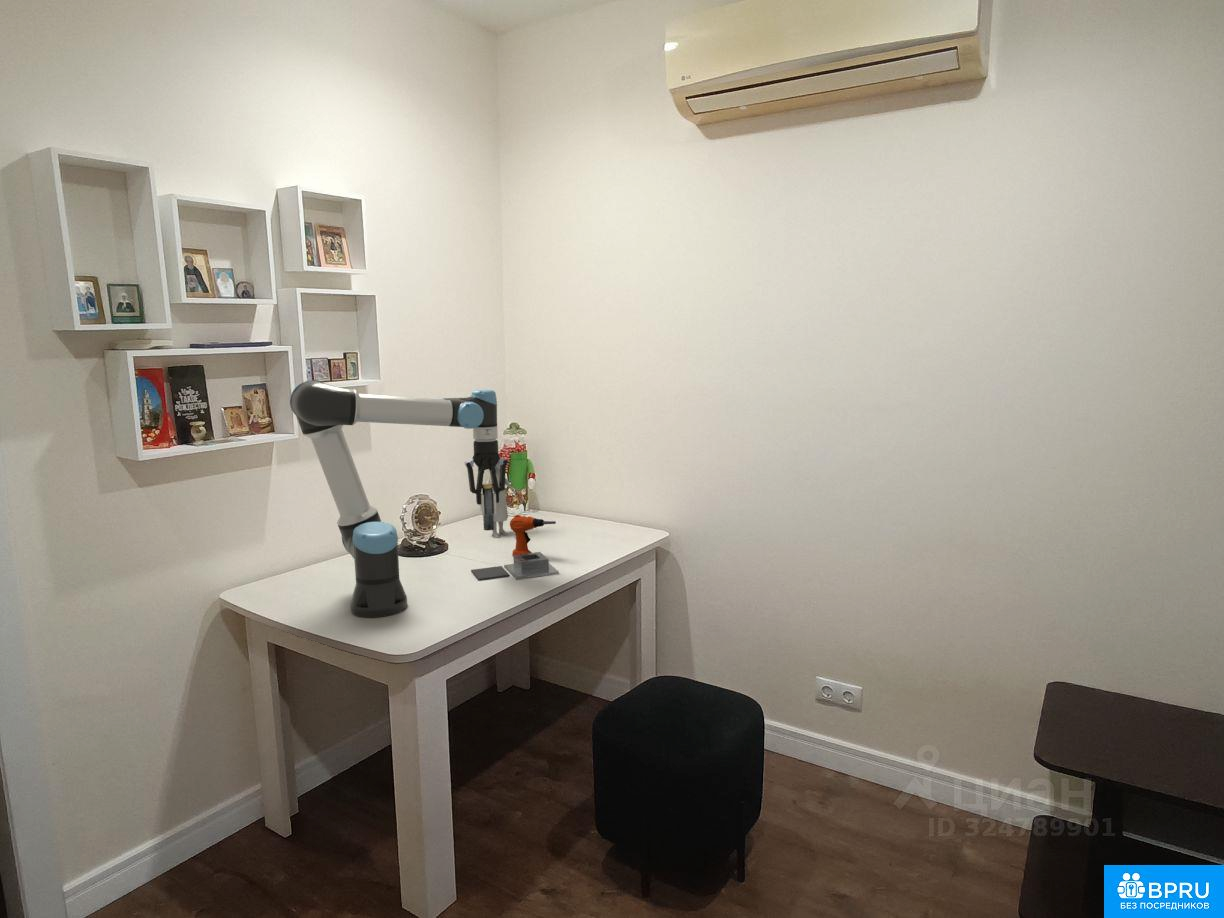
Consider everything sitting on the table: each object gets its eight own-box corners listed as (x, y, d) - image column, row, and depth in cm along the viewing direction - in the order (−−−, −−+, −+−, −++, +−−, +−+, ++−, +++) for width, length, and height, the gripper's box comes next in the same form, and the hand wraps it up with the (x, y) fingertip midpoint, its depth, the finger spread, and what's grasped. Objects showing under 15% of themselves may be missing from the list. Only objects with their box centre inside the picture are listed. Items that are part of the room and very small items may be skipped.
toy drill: (556, 559, 253) (550, 515, 251) (510, 559, 261) (504, 516, 260) (563, 555, 257) (558, 512, 255) (518, 555, 266) (512, 513, 264)
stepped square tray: (516, 579, 237) (515, 565, 236) (504, 567, 250) (503, 554, 249) (558, 573, 242) (558, 560, 242) (544, 562, 255) (544, 549, 254)
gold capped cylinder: (484, 531, 238) (482, 486, 235) (481, 528, 241) (479, 483, 239) (496, 529, 239) (494, 485, 237) (493, 527, 243) (491, 482, 240)
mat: (478, 580, 236) (478, 578, 236) (471, 571, 245) (471, 569, 245) (509, 576, 240) (509, 574, 240) (501, 567, 249) (501, 565, 249)
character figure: (490, 541, 280) (487, 461, 275) (475, 538, 285) (472, 459, 280) (522, 532, 293) (520, 455, 288) (507, 529, 298) (505, 453, 293)
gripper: (462, 443, 229) (465, 519, 233) (514, 439, 235) (516, 513, 239) (456, 440, 236) (460, 513, 240) (507, 436, 242) (510, 508, 246)
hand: (488, 513), depth 239 cm, fingers closed on gold capped cylinder, 3 cm apart
